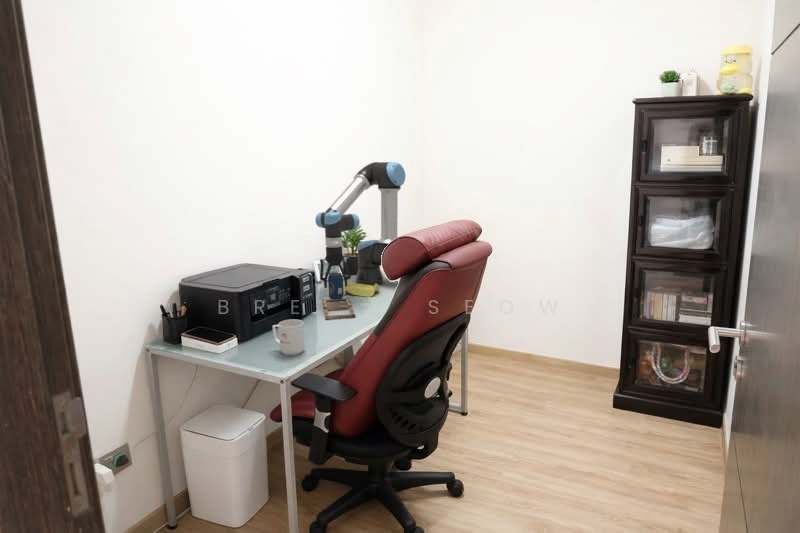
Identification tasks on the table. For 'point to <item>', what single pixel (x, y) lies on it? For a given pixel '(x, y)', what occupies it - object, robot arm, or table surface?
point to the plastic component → (362, 289)
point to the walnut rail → (339, 307)
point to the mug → (290, 336)
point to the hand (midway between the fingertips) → (336, 293)
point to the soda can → (335, 286)
